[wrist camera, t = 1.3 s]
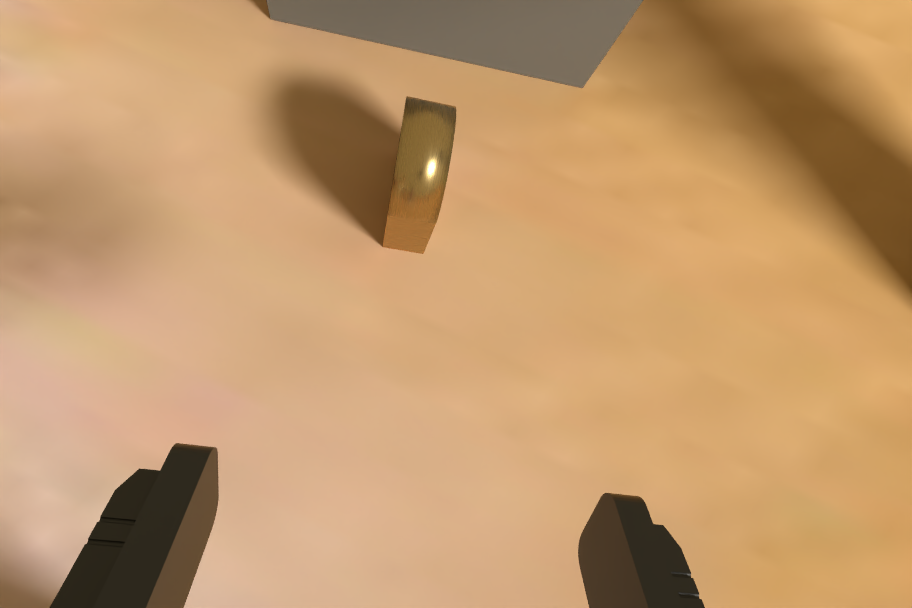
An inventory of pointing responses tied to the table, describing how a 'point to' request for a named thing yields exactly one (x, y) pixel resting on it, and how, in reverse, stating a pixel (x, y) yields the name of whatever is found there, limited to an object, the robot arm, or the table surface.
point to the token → (419, 174)
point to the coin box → (479, 30)
